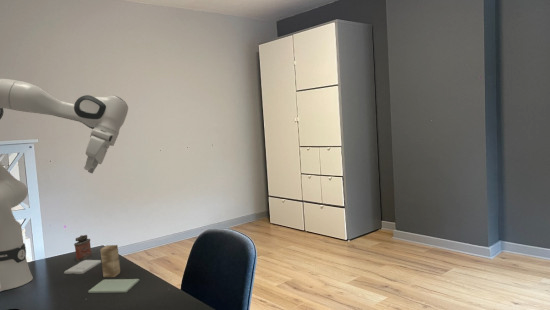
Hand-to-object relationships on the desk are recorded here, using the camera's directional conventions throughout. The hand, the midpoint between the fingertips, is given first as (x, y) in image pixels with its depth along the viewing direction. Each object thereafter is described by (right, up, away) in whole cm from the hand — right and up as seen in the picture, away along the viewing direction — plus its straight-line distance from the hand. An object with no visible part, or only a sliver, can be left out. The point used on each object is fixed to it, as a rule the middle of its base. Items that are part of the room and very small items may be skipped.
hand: (88, 171), depth 153 cm
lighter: (-16, -40, +30) cm, 52 cm away
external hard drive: (-10, -41, +18) cm, 46 cm away
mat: (+11, -41, -4) cm, 43 cm away
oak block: (+6, -40, +8) cm, 41 cm away
